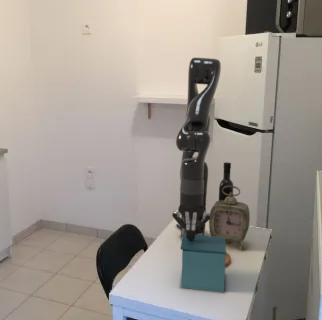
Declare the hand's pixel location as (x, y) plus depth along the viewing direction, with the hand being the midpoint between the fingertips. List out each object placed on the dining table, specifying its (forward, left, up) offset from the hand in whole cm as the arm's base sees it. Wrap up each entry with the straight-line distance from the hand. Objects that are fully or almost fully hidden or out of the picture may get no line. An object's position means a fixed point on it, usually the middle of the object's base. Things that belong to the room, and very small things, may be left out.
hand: (190, 239), depth 147 cm
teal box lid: (+3, +3, -1) cm, 4 cm away
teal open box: (+3, +3, -15) cm, 15 cm away
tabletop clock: (-13, +32, -15) cm, 38 cm away
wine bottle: (-25, +42, -15) cm, 51 cm away
